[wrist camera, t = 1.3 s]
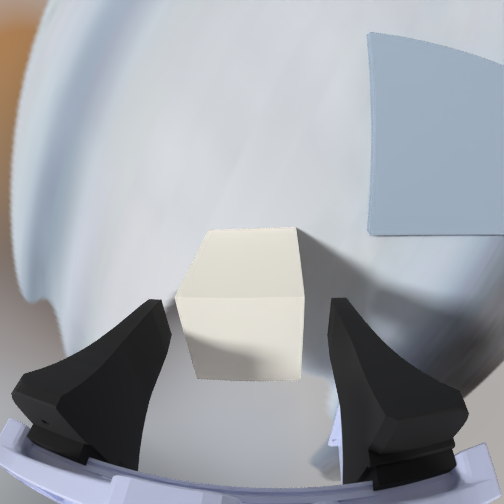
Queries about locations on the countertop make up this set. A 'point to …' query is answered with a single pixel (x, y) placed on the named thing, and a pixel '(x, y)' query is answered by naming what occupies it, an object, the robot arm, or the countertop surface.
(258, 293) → the cream block
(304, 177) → the countertop surface
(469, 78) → the mat
